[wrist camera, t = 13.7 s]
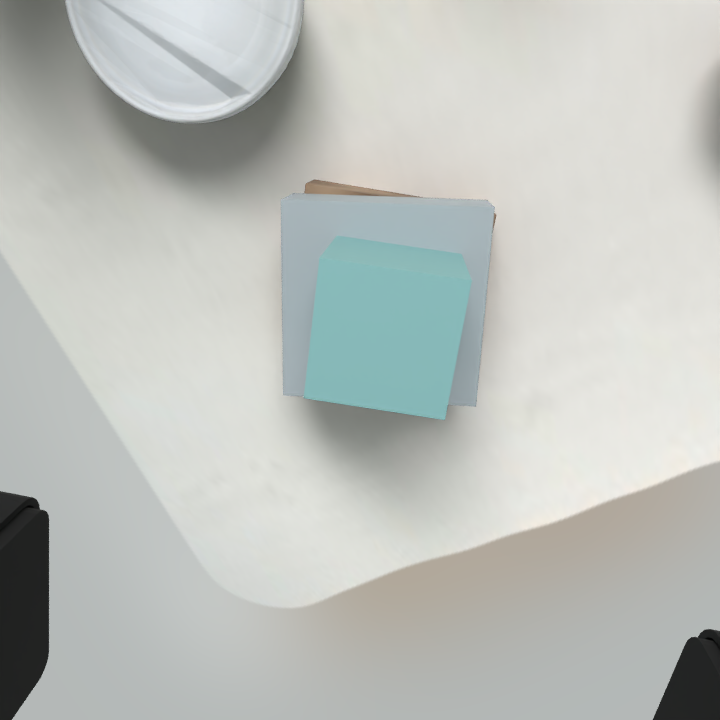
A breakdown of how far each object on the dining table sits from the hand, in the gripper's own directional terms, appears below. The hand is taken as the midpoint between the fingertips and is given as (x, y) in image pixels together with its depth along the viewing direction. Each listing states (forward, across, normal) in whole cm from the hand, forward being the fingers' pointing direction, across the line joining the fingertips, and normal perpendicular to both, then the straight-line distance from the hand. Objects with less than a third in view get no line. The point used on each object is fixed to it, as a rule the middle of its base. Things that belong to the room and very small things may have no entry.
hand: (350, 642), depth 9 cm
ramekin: (+31, +12, -11) cm, 35 cm away
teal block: (+24, 0, +1) cm, 24 cm away
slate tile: (+27, +1, +1) cm, 27 cm away
